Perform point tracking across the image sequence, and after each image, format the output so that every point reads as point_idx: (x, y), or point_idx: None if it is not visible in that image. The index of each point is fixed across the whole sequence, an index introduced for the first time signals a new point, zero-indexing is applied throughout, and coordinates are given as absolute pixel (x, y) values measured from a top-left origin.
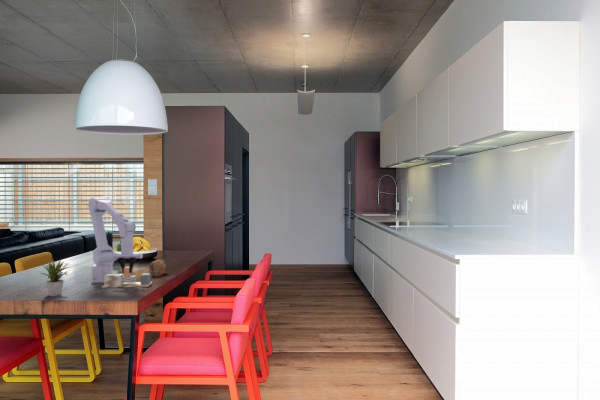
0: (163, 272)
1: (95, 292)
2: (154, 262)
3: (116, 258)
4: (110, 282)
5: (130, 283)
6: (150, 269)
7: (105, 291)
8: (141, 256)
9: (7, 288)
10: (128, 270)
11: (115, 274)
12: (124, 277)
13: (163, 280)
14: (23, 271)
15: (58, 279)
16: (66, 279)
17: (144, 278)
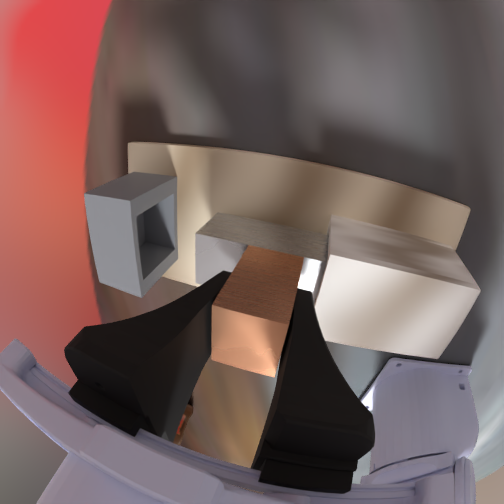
0: None
1: (484, 34)
2: None
3: (382, 484)
4: (419, 244)
5: None
6: (181, 424)
7: (429, 31)
8: (1, 354)
9: None
10: (234, 284)
11: (382, 324)
12: (298, 252)
13: (114, 308)
14: (491, 473)
15: None
16: (491, 427)
17: (124, 187)
